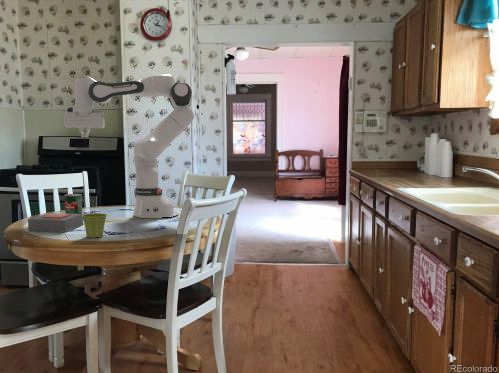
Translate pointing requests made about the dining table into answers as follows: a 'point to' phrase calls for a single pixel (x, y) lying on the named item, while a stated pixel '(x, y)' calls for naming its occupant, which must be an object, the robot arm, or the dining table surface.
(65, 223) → the button housing
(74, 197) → the canned tomato
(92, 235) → the plant pot
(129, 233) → the dining table surface
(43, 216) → the button
